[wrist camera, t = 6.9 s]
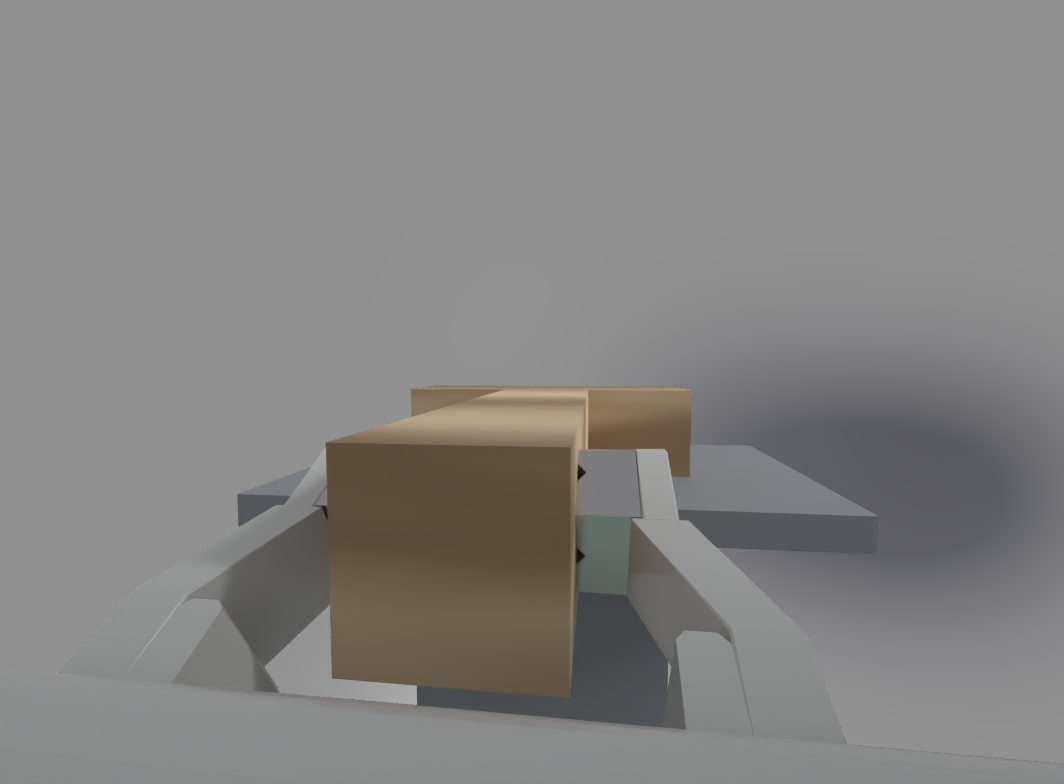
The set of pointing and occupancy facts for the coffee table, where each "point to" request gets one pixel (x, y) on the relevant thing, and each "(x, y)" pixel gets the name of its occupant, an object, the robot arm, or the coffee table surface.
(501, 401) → the t bar
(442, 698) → the stand
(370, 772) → the robot arm
